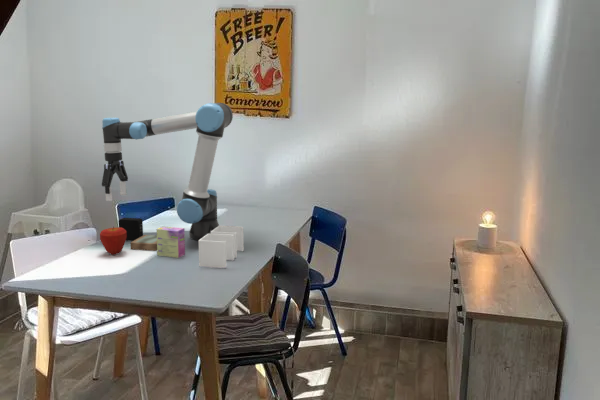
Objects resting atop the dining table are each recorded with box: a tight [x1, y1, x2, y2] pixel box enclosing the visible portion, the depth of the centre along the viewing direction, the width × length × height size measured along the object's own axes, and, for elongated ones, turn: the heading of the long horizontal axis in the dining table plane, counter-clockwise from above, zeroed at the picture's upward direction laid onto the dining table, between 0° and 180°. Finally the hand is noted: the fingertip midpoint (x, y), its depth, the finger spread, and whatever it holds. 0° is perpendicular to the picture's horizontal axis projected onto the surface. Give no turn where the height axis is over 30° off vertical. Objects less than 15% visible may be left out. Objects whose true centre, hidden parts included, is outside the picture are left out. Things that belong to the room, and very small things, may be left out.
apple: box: [99, 226, 127, 256], centre depth 248 cm, size 11×11×12 cm
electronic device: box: [118, 217, 144, 242], centre depth 271 cm, size 4×10×10 cm, turn 78°
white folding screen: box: [197, 225, 245, 269], centre depth 243 cm, size 25×11×11 cm, turn 169°
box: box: [155, 225, 186, 259], centre depth 246 cm, size 10×6×12 cm, turn 71°
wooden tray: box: [129, 234, 157, 252], centre depth 261 cm, size 12×14×3 cm
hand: (116, 197), depth 268 cm, fingers open, 13 cm apart
